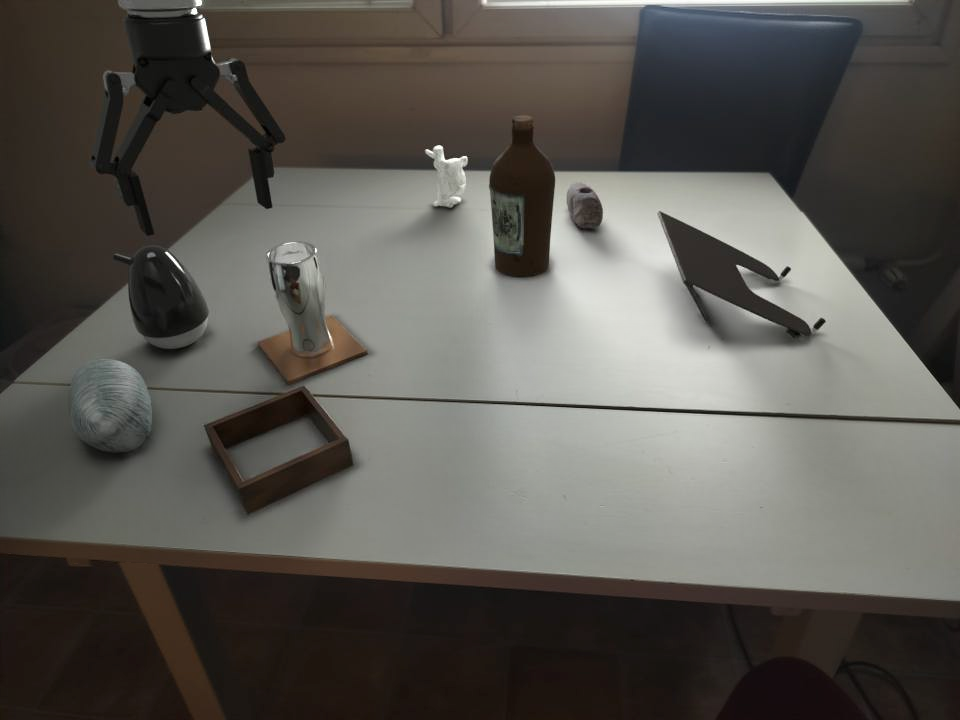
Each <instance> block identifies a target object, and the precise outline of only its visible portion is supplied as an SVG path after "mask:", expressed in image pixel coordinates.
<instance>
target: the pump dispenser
mask: <svg viewBox="0 0 960 720" xmlns="http://www.w3.org/2000/svg"><path fill="white" fill-rule="evenodd" d="M112 259H113V260H115V261H116V262H119V263H122V264H124V265H127V266H129V270H128V280H127V291H128V292H127V293H128V303H129V308H130V314H131V317H132V321H133V324H134V327H135V330H136V331H137V332H138V334H140V335H142V337H143V338H144V339H145V340H146V341H147V342H148V343H149V344H150V345H152V346H155V347H157V348H160V349H165V350H177V349H181V348H185V347H187V346H189V345H190V346H191V345H192V344H193V343H196V342H197V341H198V340H199V339H200V338H202V336H203V334H205V331H206V329H207V326H208V319H209V318H208V317H209V314H210V309H209V306H208V303H207V301H206V299H205V297H204V294H203V292H202V291H201V288H200V287H199V285H198V283H197V281H196V280H195V279H194V276H192V274H191V272H190V271H189V270H188V269H187V268H186V266H185V265H184V264H183V262H182V261H180V259H179V258H178V257H177V256H176V255H175V254H174V253H173V252H171V251H170V250H169V249H167V248H166V247H164V246H161V245H155V244H149V245H145V246H142V247H141V248H138V250H136V252H134V255H128V254H125V253H121V252H117V251H115V252H114V253H113V254H112Z"/></svg>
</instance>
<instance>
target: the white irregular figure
mask: <svg viewBox="0 0 960 720" xmlns="http://www.w3.org/2000/svg"><path fill="white" fill-rule="evenodd" d="M424 152H425V154H426V155H427V156H428V157H430V158H432V159H434V160H433V167H434V168H435V169H436V172H437V195H438V198H437V199H436V200H435V201H434V202H433V203H432V206H433V207H439V206H440V207H446V208H448V209H451V208H453V207H454V206H455V205H458V204H459V203H461V201H462V199H461V198H460V197H458V196H461V195H463V194H464V192H465V191H466V187H467V179H466V175H465V171H464V169H463V168H465V167H467V165H468V164H469V163H468V162H469V158H468V157H467V155H465V156H464V155H463V156H461V157H460V158H457V157H453V158H449V159H445V154H444V147H443V146H442V145H439V144H438V145H436V146H433V148H432V150H429V149H424Z"/></svg>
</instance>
